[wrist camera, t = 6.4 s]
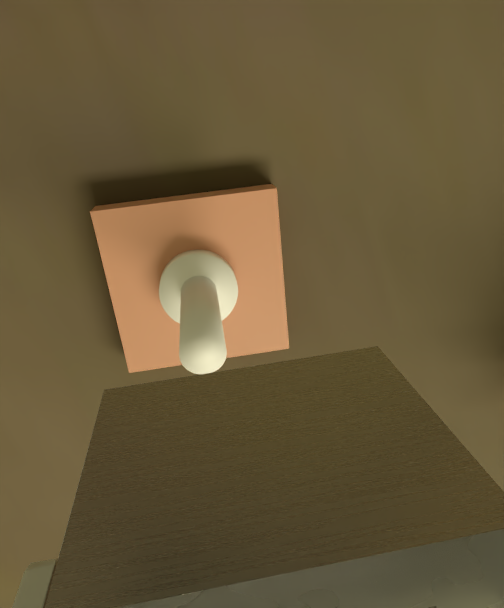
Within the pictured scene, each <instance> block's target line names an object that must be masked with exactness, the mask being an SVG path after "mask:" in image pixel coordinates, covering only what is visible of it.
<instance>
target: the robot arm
mask: <svg viewBox="0 0 504 608" xmlns="http://www.w3.org/2000/svg"><path fill="white" fill-rule="evenodd" d="M57 562H58V558H57V559H51V560H45V561H40V562H34V563H30V565H29V566H28V568H27V569H26V571H25V572H24V574H23V577H22V580H21V583H20V586H19V589H18V592H17V595H16V598H15V601H14V604H13V607H12V608H45V606H46V602H47V598H48V595H49V591H50V587H51V584H52V580H53V576H54V573H55V569H56V565H57Z"/></svg>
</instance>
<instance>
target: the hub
mask: <svg viewBox="0 0 504 608" xmlns="http://www.w3.org/2000/svg"><path fill="white" fill-rule="evenodd" d="M45 608H504V492H503V491H502V489H501V488H500V487H499V486H498V485H497V484H496V482H495V481H494V480H493V479H492V478H491V477H490V475H489V474H488V473H487V472H486V471H485V470H484V469H483V467H482V466H481V465H480V464H479V463H478V462H477V460H476V459H475V458H474V457H473V456H472V455H471V454H470V452H469V451H468V450H467V449H466V448H465V447H464V445H463V444H462V443H461V442H460V441H459V440H458V439H457V437H456V436H455V435H454V434H453V433H452V432H451V430H450V429H449V428H448V427H447V426H446V425H445V424H444V422H443V421H442V420H441V419H440V418H439V417H438V415H437V414H436V413H435V412H434V411H433V410H432V409H431V407H430V406H429V405H428V404H427V403H426V402H425V400H424V399H423V398H422V397H421V396H420V395H419V394H418V392H417V391H416V390H415V389H414V388H413V387H412V385H411V384H410V383H409V382H408V381H407V380H406V379H405V377H404V376H403V375H402V374H401V373H400V372H399V370H398V369H397V368H396V367H395V366H394V365H393V364H392V362H391V361H390V360H389V359H388V358H387V357H386V355H385V354H384V353H383V352H382V351H381V350H380V349H379V347H378V346H376V347H370V348H364V349H357V350H351V351H345V352H339V353H332V354H326V355H320V356H313V357H307V358H301V359H295V360H288V361H282V362H276V363H269V364H263V365H257V366H251V367H244V368H238V369H232V370H225V371H219V372H213V373H207V374H200V375H194V376H188V377H181V378H175V379H169V380H163V381H156V382H150V383H144V384H138V385H131V386H125V387H119V388H112V389H106V390H104V392H103V396H102V400H101V404H100V407H99V411H98V415H97V418H96V422H95V426H94V429H93V433H92V437H91V440H90V444H89V448H88V451H87V455H86V459H85V462H84V466H83V470H82V473H81V477H80V481H79V484H78V488H77V492H76V495H75V499H74V503H73V506H72V510H71V514H70V517H69V521H68V525H67V528H66V532H65V536H64V540H63V543H62V547H61V551H60V554H59V558H58V562H57V565H56V569H55V573H54V576H53V580H52V584H51V587H50V591H49V595H48V598H47V602H46V606H45Z"/></svg>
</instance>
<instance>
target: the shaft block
mask: <svg viewBox="0 0 504 608" xmlns="http://www.w3.org/2000/svg"><path fill="white" fill-rule="evenodd" d="M90 213H91V218H92V222H93V226H94V230H95V234H96V238H97V242H98V246H99V250H100V255H101V259H102V263H103V267H104V271H105V275H106V279H107V283H108V287H109V291H110V296H111V300H112V304H113V308H114V312H115V316H116V320H117V324H118V328H119V333H120V337H121V341H122V345H123V349H124V353H125V357H126V361H127V365H128V370H129V373H132V372H138V371H145V370H151V369H158V368H164V367H171V366H177V365H183V366H184V367H185V368H186V369H187V370H188V371H190V372H192V373H195V374H207V373H212V372H214V371H216V370H218V369H219V368H220V367H221V366H222V365H223V363H224V362H225V359H226V358H230V357H236V356H243V355H249V354H256V353H262V352H269V351H275V350H282V349H288V348H289V340H288V327H287V314H286V301H285V289H284V276H283V263H282V250H281V237H280V224H279V211H278V198H277V188H276V187H275V186H274V185H273V184H267V185H259V186H251V187H243V188H235V189H227V190H219V191H211V192H203V193H195V194H187V195H179V196H171V197H163V198H155V199H147V200H139V201H131V202H123V203H115V204H107V205H99V206H95V207H94V208H93V209H92V210H91V211H90Z"/></svg>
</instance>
